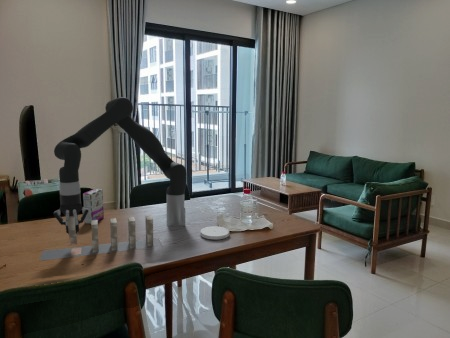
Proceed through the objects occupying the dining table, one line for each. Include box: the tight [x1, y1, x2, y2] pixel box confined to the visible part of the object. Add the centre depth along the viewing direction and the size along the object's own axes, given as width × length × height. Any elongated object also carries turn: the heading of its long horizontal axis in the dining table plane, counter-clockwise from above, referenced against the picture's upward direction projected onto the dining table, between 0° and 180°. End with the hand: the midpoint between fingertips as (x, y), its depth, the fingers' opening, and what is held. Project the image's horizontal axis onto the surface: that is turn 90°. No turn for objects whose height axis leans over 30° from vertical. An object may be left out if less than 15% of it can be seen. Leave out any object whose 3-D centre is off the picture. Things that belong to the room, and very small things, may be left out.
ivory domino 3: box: [127, 216, 137, 248], centre depth 147 cm, size 2×6×12 cm, turn 21°
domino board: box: [39, 237, 164, 262], centre depth 144 cm, size 48×10×1 cm, turn 111°
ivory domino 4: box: [144, 214, 154, 246], centre depth 149 cm, size 2×6×12 cm, turn 21°
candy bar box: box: [82, 188, 105, 225], centre depth 180 cm, size 11×5×16 cm, turn 168°
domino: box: [68, 216, 78, 245], centre depth 138 cm, size 2×6×12 cm
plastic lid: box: [200, 225, 230, 240], centre depth 165 cm, size 14×14×2 cm
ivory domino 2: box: [109, 217, 118, 250], centre depth 144 cm, size 2×6×12 cm, turn 21°
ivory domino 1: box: [90, 220, 100, 252], centre depth 141 cm, size 2×6×12 cm, turn 21°
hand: (72, 233), depth 138 cm, fingers closed on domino, 2 cm apart
